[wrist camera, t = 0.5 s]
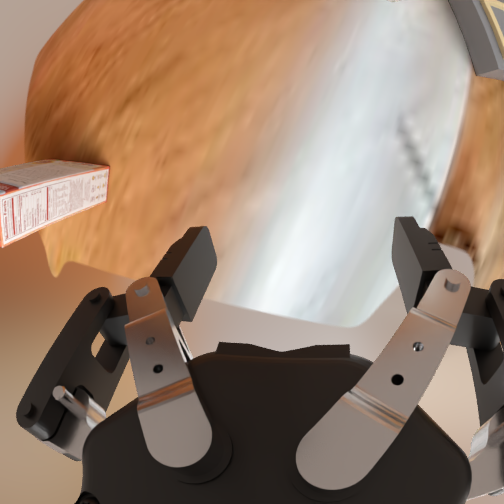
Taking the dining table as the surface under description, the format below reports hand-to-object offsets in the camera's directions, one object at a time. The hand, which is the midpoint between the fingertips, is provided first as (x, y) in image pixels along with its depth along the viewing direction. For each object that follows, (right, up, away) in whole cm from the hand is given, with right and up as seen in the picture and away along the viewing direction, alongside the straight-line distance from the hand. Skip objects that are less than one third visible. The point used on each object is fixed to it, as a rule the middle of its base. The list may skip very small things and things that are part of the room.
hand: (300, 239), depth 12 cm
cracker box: (-30, +11, +26) cm, 41 cm away
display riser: (+36, +32, +9) cm, 49 cm away
